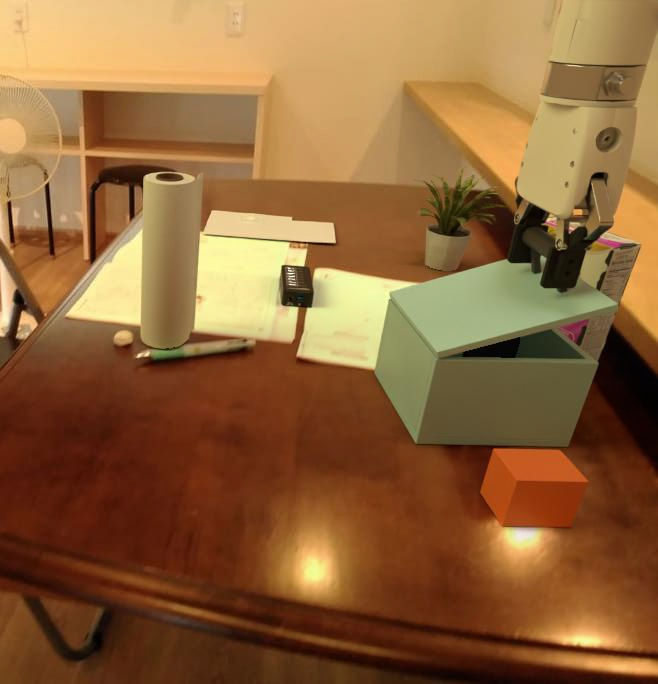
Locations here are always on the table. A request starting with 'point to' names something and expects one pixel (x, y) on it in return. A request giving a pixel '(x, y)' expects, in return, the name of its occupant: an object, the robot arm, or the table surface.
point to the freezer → (484, 389)
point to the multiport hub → (296, 286)
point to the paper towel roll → (169, 257)
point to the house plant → (452, 223)
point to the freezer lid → (496, 302)
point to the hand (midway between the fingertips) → (539, 272)
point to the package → (533, 487)
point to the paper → (268, 227)
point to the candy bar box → (600, 284)
